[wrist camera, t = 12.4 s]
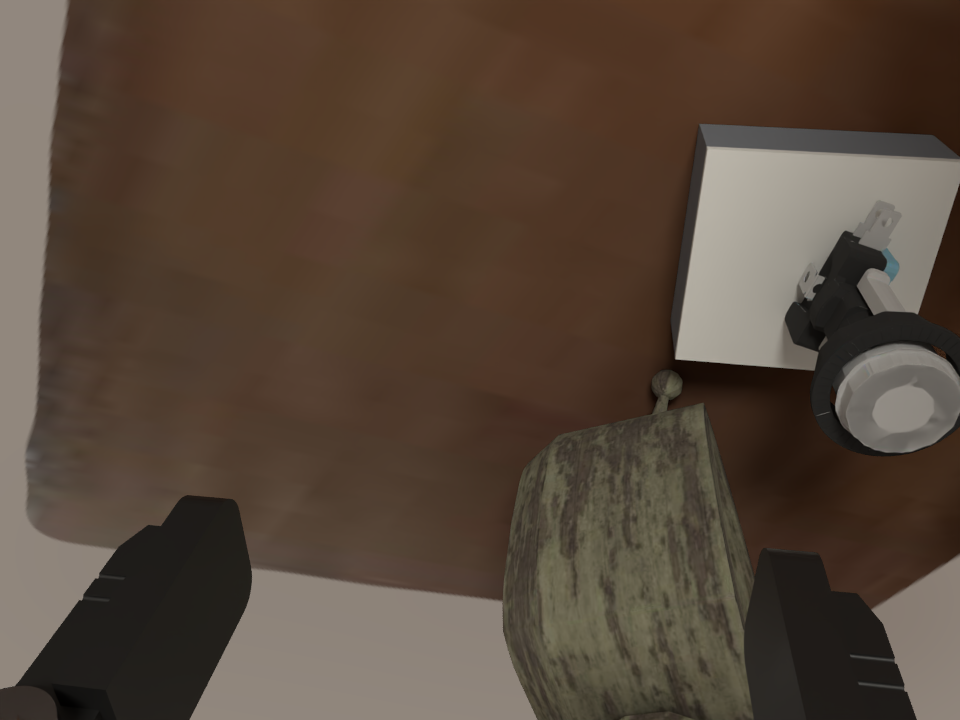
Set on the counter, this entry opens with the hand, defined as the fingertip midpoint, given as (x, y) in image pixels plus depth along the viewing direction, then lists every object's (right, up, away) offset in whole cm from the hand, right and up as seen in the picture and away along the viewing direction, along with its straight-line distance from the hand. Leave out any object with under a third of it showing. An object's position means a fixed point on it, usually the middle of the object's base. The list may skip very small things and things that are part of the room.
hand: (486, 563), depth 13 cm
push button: (+16, +7, +23) cm, 29 cm away
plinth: (+15, +9, +26) cm, 32 cm away
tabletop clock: (+9, -3, +35) cm, 36 cm away
